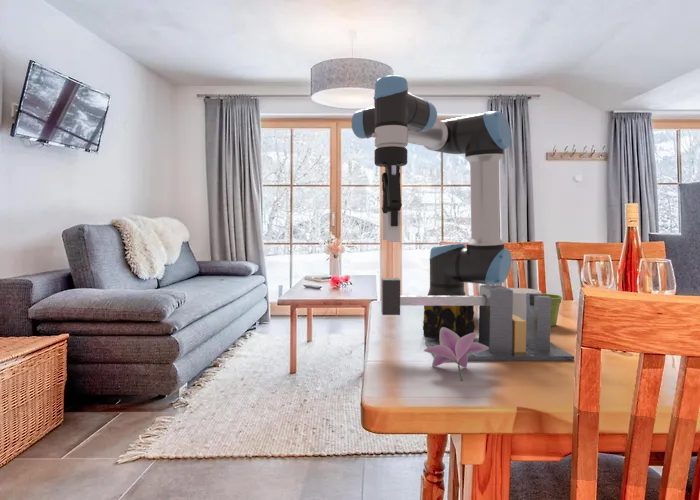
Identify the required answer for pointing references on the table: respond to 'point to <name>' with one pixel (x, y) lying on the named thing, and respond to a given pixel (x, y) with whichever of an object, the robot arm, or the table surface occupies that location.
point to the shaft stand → (499, 328)
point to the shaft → (419, 299)
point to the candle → (448, 320)
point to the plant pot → (554, 307)
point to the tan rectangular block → (518, 334)
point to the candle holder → (521, 301)
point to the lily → (454, 348)
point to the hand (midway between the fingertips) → (390, 241)
